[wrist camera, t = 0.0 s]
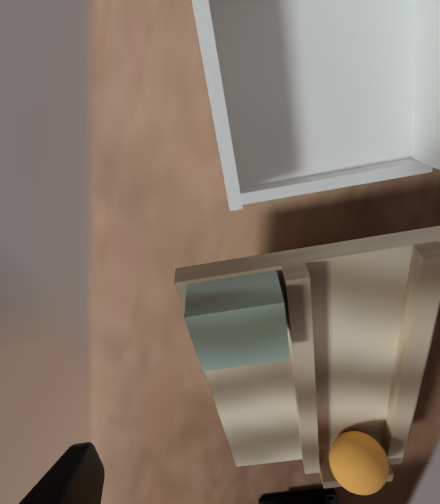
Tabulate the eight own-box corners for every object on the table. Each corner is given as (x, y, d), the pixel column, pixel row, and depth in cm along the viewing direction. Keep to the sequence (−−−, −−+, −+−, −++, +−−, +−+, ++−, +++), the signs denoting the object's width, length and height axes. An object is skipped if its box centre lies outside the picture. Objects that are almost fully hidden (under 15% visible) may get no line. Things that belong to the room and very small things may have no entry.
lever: (400, 432, 27) (419, 478, 24) (235, 452, 28) (238, 497, 25) (443, 225, 16) (485, 268, 14) (175, 268, 17) (170, 315, 15)
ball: (374, 445, 26) (395, 502, 23) (323, 451, 26) (337, 508, 23) (377, 416, 24) (401, 474, 21) (322, 423, 24) (337, 481, 21)
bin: (418, 165, 20) (461, 184, 16) (230, 198, 21) (232, 223, 17) (426, -72, 16) (486, -118, 12) (192, -19, 17) (183, -47, 13)
